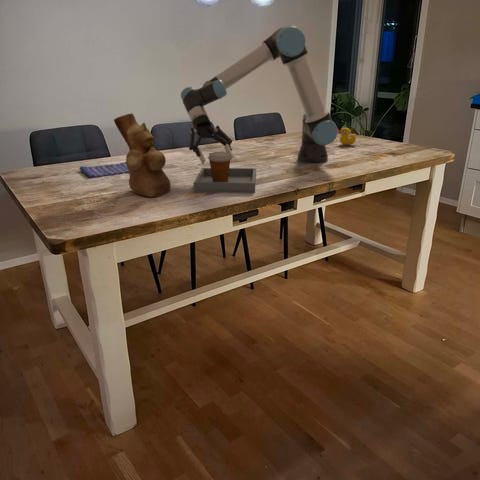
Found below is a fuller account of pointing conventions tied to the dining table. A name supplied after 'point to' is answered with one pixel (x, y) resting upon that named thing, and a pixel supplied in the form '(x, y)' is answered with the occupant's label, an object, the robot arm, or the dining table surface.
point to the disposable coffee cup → (220, 166)
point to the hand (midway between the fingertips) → (218, 160)
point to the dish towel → (105, 170)
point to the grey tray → (237, 182)
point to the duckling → (344, 138)
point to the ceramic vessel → (143, 158)
